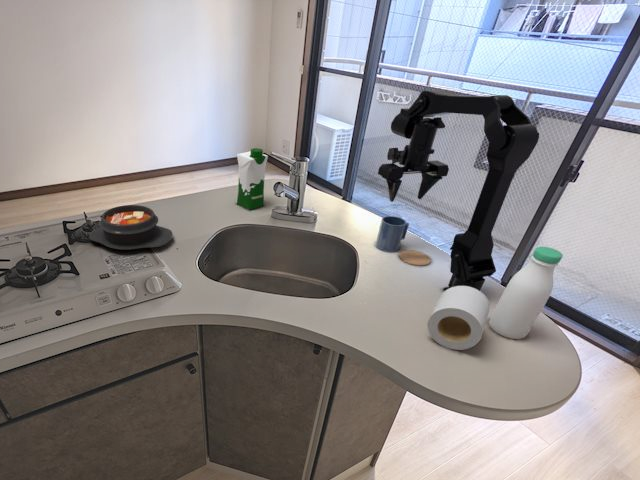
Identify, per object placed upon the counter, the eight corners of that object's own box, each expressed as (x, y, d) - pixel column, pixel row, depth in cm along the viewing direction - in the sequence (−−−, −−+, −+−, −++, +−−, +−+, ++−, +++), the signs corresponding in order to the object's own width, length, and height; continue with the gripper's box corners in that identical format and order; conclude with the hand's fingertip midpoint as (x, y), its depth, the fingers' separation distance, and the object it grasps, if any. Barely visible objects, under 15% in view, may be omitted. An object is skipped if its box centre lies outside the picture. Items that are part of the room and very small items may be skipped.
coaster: (436, 263, 113) (437, 262, 112) (411, 267, 110) (412, 266, 110) (417, 249, 119) (417, 248, 119) (393, 253, 117) (393, 252, 117)
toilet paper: (432, 315, 93) (447, 279, 87) (479, 331, 88) (497, 295, 82) (421, 337, 86) (436, 301, 80) (471, 357, 82) (490, 319, 76)
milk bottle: (524, 345, 85) (572, 265, 73) (485, 330, 89) (524, 252, 77) (528, 327, 90) (574, 249, 78) (491, 314, 94) (529, 238, 82)
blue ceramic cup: (384, 253, 117) (391, 227, 112) (371, 242, 122) (377, 217, 117) (409, 249, 119) (417, 223, 114) (395, 239, 124) (403, 214, 119)
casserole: (78, 250, 114) (71, 223, 109) (106, 223, 128) (101, 199, 124) (161, 259, 111) (158, 232, 106) (180, 230, 126) (178, 205, 121)
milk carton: (249, 211, 139) (251, 153, 127) (233, 203, 145) (233, 147, 133) (267, 206, 144) (271, 149, 132) (251, 198, 149) (253, 143, 137)
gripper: (431, 134, 112) (416, 188, 121) (373, 137, 108) (362, 192, 117) (458, 144, 104) (439, 201, 113) (397, 148, 99) (382, 206, 109)
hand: (405, 200), depth 113 cm, fingers open, 9 cm apart
